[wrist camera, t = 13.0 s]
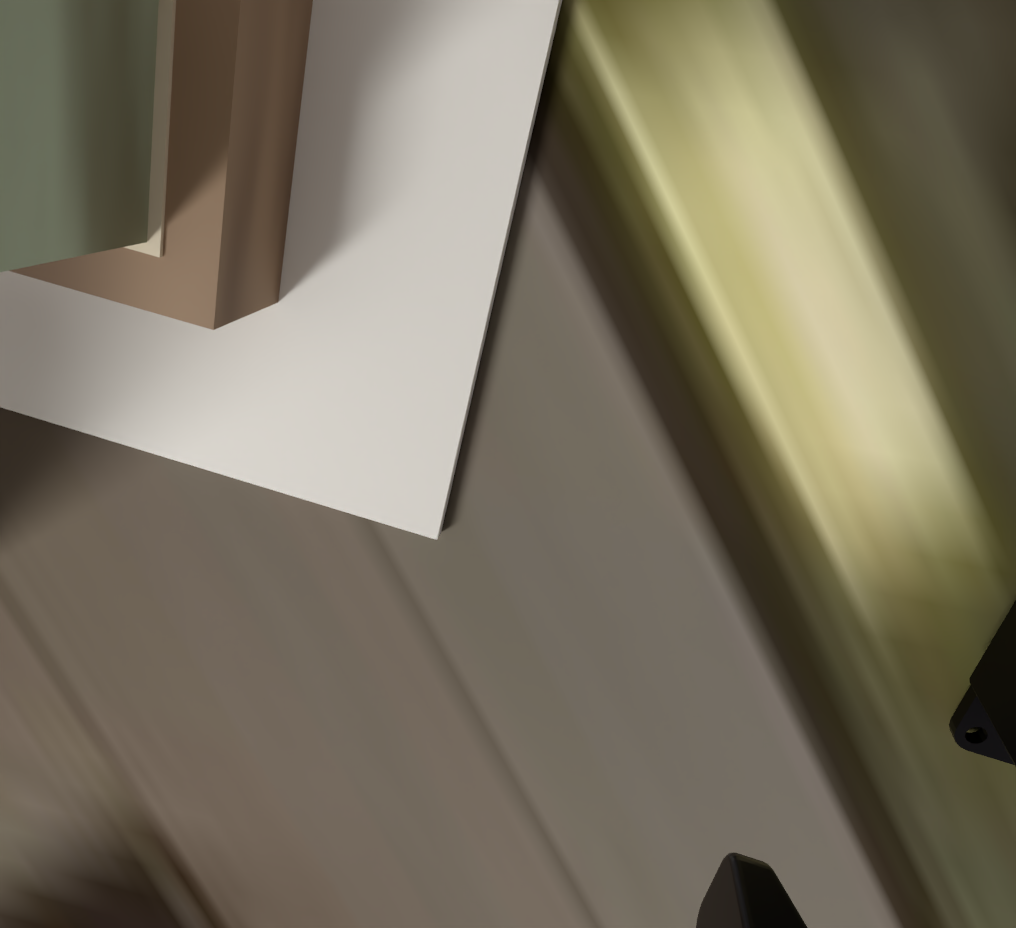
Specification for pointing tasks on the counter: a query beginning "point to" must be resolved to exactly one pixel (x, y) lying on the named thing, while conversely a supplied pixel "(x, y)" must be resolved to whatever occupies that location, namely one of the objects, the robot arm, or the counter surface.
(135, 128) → the sage block
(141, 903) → the counter surface
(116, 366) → the board
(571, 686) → the counter surface
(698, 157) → the counter surface
